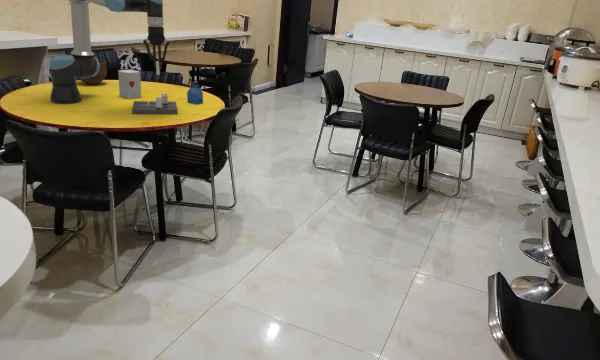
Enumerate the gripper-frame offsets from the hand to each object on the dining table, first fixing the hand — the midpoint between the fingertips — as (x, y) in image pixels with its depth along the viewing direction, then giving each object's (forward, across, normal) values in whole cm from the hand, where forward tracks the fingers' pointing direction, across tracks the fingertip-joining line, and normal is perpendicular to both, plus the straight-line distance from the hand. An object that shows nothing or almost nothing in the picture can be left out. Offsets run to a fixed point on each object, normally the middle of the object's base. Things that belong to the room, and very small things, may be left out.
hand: (158, 74), depth 235 cm
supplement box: (+19, -18, +34) cm, 42 cm away
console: (+19, -2, +2) cm, 19 cm away
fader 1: (+17, 0, -3) cm, 17 cm away
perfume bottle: (+19, +19, +21) cm, 34 cm away
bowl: (+18, -44, +70) cm, 84 cm away
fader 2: (+17, +2, +7) cm, 18 cm away
